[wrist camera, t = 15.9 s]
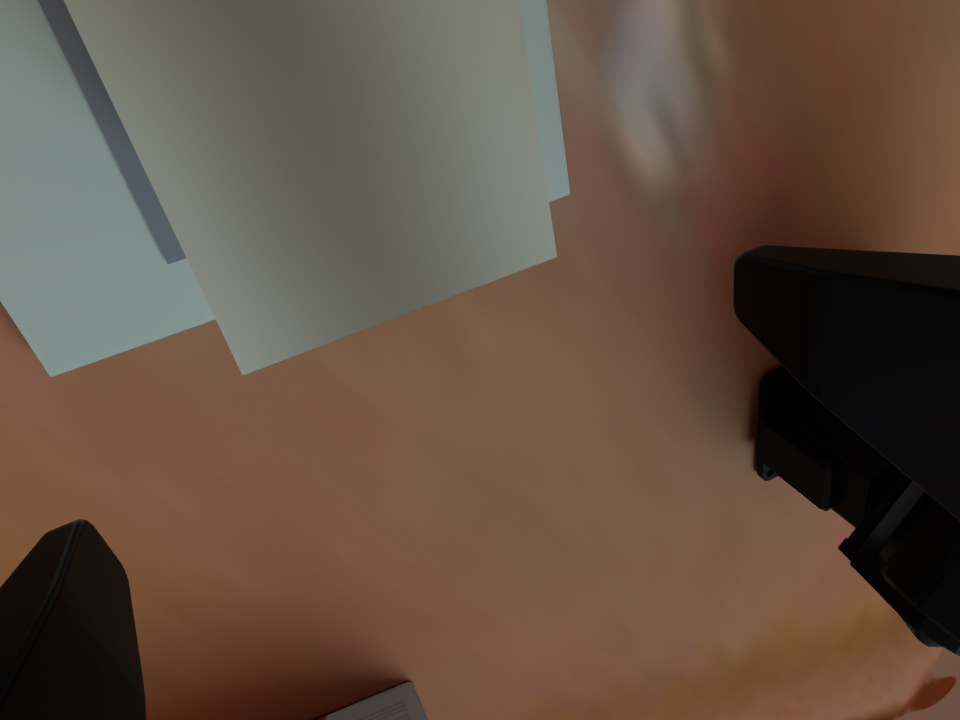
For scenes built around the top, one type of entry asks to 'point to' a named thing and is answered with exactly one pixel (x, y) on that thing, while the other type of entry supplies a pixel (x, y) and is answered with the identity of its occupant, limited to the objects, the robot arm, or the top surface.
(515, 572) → the top surface
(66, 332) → the board
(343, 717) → the ink box
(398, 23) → the maple cube
